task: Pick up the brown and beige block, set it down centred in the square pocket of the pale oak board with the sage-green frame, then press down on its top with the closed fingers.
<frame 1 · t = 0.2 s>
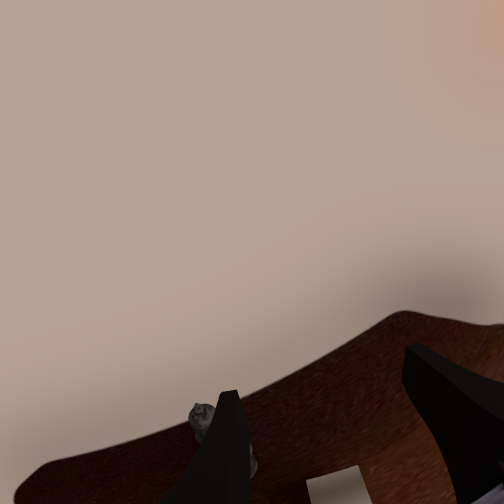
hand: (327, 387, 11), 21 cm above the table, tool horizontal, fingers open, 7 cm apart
dark grey chess piece: (235, 468, 28), on the table
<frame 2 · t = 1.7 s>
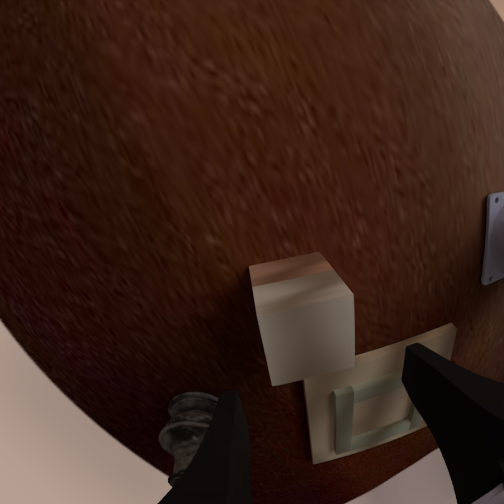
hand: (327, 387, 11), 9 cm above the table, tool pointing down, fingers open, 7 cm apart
dark grey chess piece: (198, 410, 23), on the table
pocket board: (378, 401, 24), on the table
brown and beige block: (289, 290, 20), on the table
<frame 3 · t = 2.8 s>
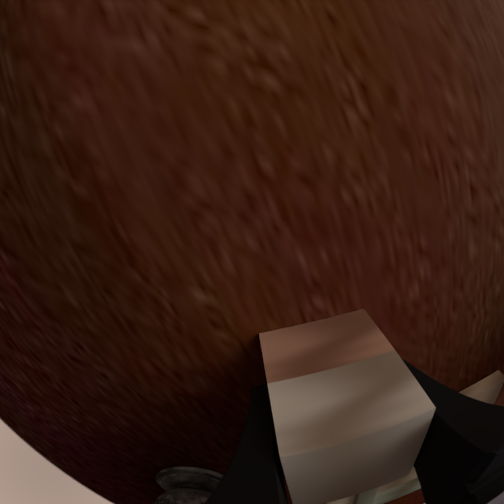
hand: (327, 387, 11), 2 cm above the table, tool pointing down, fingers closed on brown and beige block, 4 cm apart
dark grey chess piece: (193, 481, 16), on the table
pocket board: (407, 458, 18), on the table
brown and beige block: (317, 361, 13), on the table, touching gripper
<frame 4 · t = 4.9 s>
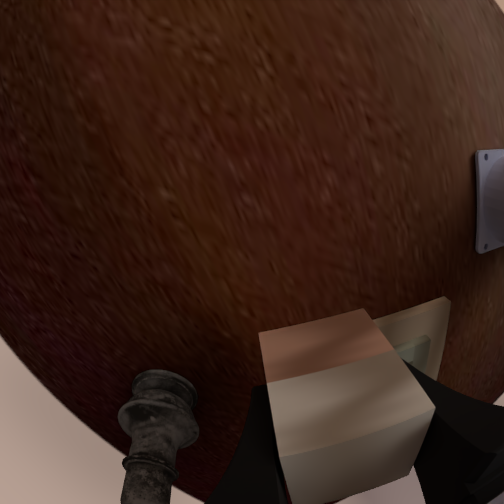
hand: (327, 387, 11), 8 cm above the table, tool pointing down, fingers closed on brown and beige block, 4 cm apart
dark grey chess piece: (164, 392, 22), on the table
pocket board: (366, 387, 23), on the table
brown and beige block: (316, 361, 13), point 7 cm above the table, touching gripper
when the fingers open (4 cm above the table, at t = 7.3 s): brown and beige block stays where it is, resting on pocket board.
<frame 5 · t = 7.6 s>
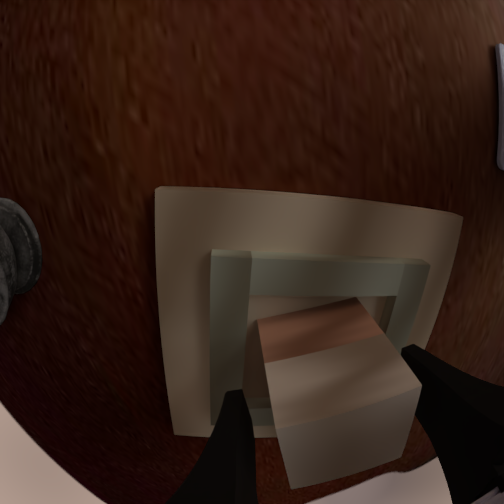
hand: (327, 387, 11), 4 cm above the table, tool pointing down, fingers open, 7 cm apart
dark grey chess piece: (8, 246, 12), on the table
pocket board: (307, 337, 15), on the table
brown and beige block: (312, 348, 14), point 1 cm above the table, touching pocket board
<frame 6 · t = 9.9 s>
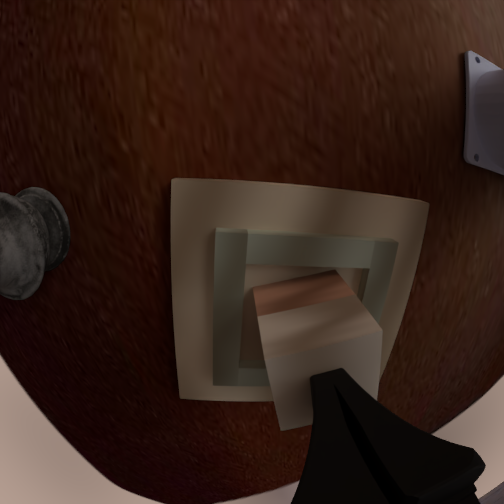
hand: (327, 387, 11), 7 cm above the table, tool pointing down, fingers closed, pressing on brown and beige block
dark grey chess piece: (37, 229, 15), on the table
pocket board: (296, 306, 18), on the table
brown and beige block: (299, 313, 17), point 1 cm above the table, touching gripper, pocket board
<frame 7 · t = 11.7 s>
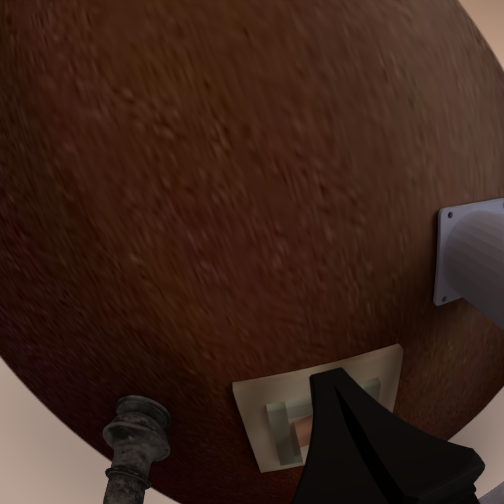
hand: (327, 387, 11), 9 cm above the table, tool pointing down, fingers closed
dark grey chess piece: (143, 413, 24), on the table
pocket board: (322, 417, 25), on the table
brown and beige block: (324, 424, 24), point 1 cm above the table, touching pocket board
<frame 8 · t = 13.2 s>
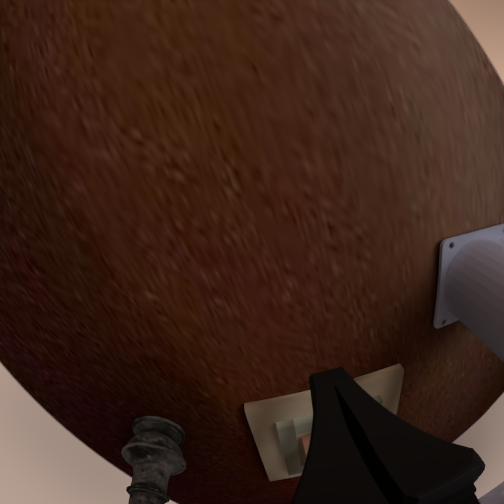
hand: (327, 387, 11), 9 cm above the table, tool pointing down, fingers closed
dark grey chess piece: (158, 431, 25), on the table
pocket board: (327, 430, 26), on the table
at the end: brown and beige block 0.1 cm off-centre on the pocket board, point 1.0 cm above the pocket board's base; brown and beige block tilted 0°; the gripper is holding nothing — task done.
